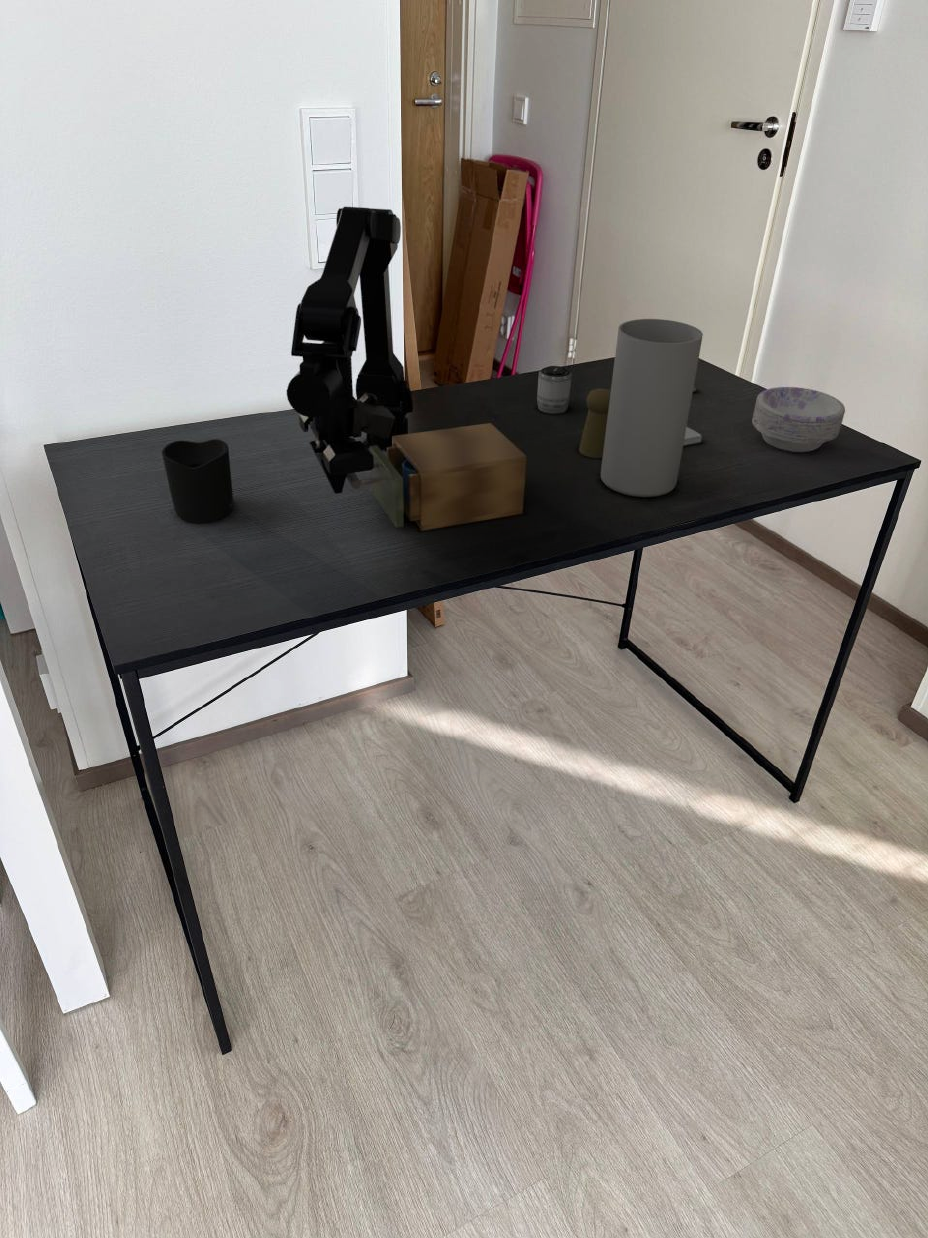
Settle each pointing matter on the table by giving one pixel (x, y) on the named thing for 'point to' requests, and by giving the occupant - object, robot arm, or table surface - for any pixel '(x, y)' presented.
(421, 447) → the cabinet
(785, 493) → the table surface
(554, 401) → the camera lens
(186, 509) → the pen holder
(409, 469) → the cup
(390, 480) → the drawer
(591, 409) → the cork
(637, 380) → the cylinder vase
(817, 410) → the paper bowls
